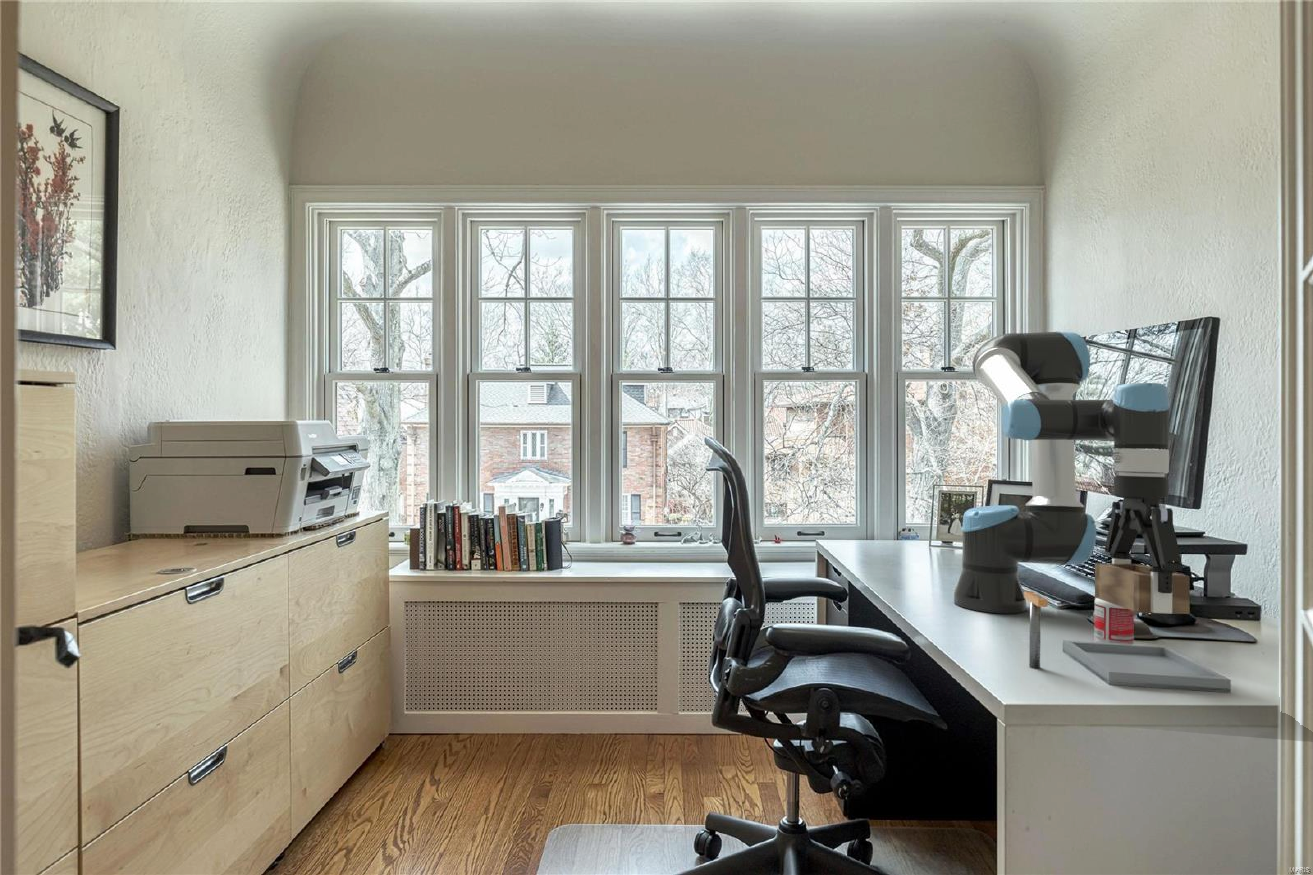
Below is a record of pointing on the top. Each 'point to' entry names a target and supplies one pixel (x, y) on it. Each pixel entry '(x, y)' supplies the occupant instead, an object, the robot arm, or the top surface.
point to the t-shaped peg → (1035, 626)
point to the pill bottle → (1113, 623)
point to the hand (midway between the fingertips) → (1140, 603)
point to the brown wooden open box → (1137, 587)
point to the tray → (1145, 666)
